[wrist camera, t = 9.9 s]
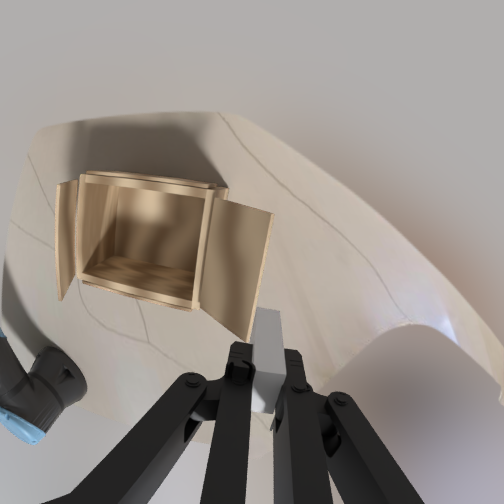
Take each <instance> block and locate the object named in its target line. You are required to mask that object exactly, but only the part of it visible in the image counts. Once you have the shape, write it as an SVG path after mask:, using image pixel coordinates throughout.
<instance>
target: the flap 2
mask: <svg viewBox="0 0 504 504" xmlns="http://www.w3.org/2000/svg"><path fill="white" fill-rule="evenodd" d="M273 219H274V214H273V213H270V212H266V211H263V210H259V209H256V208H252V207H249V206H245V205H242V204H238V203H235V202H231V201H227V200H224V199H220V198H215V199H214V205H213V212H212V218H211V225H210V232H209V238H208V245H207V252H206V260H205V267H204V275H203V283H202V291H201V299H200V308H201V309H202V310H204V311H205V312H206V313H208V314H209V315H210V316H211V317H213V318H214V319H215V320H216V321H218V322H219V323H220V324H222V325H223V326H224V327H226V328H227V329H228V330H229V331H231V332H232V333H233V334H235V335H236V336H237V337H239V338H240V339H241V340H243V341H244V342H249V337H250V333H251V328H252V323H253V318H254V314H255V309H256V304H257V299H258V294H259V289H260V284H261V280H262V275H263V270H264V265H265V260H266V255H267V250H268V245H269V240H270V235H271V229H272V224H273Z"/></svg>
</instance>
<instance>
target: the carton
mask: <svg viewBox="0 0 504 504" xmlns="http://www.w3.org/2000/svg"><path fill="white" fill-rule="evenodd" d="M217 185H218V184H215V183H208V182H202V181H195V180H188V179H181V178H173V177H165V176H157V175H149V174H140V173H130V172H120V171H86V174H80V181H79V192H78V205H77V226H76V267H77V278H78V279H81V280H82V283H83V284H87V285H90V286H93V287H96V288H100V289H103V290H107V291H110V292H114V293H117V294H121V295H124V296H128V297H132V298H135V299H139V300H143V301H147V302H151V303H155V304H159V305H163V306H167V307H171V308H175V309H180V310H184V311H188V312H191V311H192V310H193V309H196V310H200V299H201V291H202V283H203V275H204V267H205V260H206V252H207V245H208V238H209V232H210V225H211V218H212V212H213V205H214V199H215V198H220V199H224V200H227V197H228V192H229V188H224V187H218V186H217Z"/></svg>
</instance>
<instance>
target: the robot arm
mask: <svg viewBox="0 0 504 504" xmlns="http://www.w3.org/2000/svg"><path fill="white" fill-rule="evenodd" d="M86 392H87V384H86V381H85V378H84V376H83V374H82V373H81V371H80V370H79V368H78V367H77V366H76V365H75V363H74V362H73V361H72V360H71V359H70V358H69V357H68V356H66V355H65V354H64V353H63V352H61V351H59V350H58V349H55V348H53V347H45V348H44V349H42V350H41V351H40V352H39V353H38V355H37V357H36V359H35V361H34V363H33V365H32V368H31V370H30V372H29V373H28V374H27V373H26V371H25V370H24V368H23V367H22V365H21V363H20V362H19V360H18V358H17V357H16V355H15V353H14V352H13V350H12V348H11V346H10V345H9V343H8V341H7V337H6V336H5V335H4V333H3V332H2V330H1V328H0V422H1V423H2V424H3V425H4V426H5V427H6V428H7V429H8V430H9V431H10V432H11V433H13V434H14V435H15V436H16V437H18V438H19V439H21V440H22V441H24V442H26V443H28V444H32V445H35V444H37V443H38V442H39V441H40V440H41V439H42V438H43V437H44V436H45V435H46V433H47V432H48V430H49V429H50V428H51V426H52V425H53V423H54V422H55V421H56V419H57V418H58V417H59V415H60V414H61V413H62V411H63V410H64V409H65V408H66V407H68V406H70V405H72V404H73V403H75V402H77V401H79V400H81V399H82V398H83V396H84V395H85V394H86ZM274 410H275V417H274V419H273V422H272V425H271V427H270V431H272V429H273V452H274V455H273V457H274V504H333V499H332V493H331V487H330V481H329V474H328V471H329V473H330V475H331V477H332V479H333V482H334V483H335V486H336V488H337V490H338V492H339V494H340V496H341V498H342V500H343V502H344V504H424V502H423V501H422V499H421V498H420V496H419V495H418V493H417V492H416V490H415V489H414V487H413V486H412V485H411V483H410V482H409V480H408V479H407V477H406V476H405V474H404V473H403V471H402V470H401V468H400V467H399V466H398V464H397V463H396V461H395V460H394V458H393V457H392V455H391V454H390V453H389V451H388V449H387V448H386V447H385V445H384V444H383V442H382V441H381V439H380V438H379V436H378V435H377V433H376V432H375V431H374V429H373V428H372V426H371V425H370V423H369V422H368V420H367V419H366V418H365V416H364V415H363V413H362V412H361V410H360V409H359V407H358V406H357V404H356V403H355V401H354V400H353V399H352V397H350V395H348V394H346V393H343V392H332V393H331V394H330V395H329V396H328V397H327V396H323V395H320V394H317V393H315V392H313V389H312V387H311V385H309V384H308V383H307V381H306V376H305V371H304V365H303V360H302V356H301V354H300V353H299V352H298V351H297V350H292V349H284V345H283V336H282V327H281V318H280V311H277V310H271V309H265V308H260V307H257V309H256V314H255V318H254V323H253V328H252V333H251V337H250V342H249V344H248V343H243V342H237V341H235V342H234V343H233V344H232V345H231V347H230V352H229V357H228V362H227V364H226V370H225V375H224V376H223V377H222V378H220V379H217V380H212V381H207V380H206V379H205V377H204V376H202V375H200V374H198V373H194V372H188V373H184V374H182V375H180V376H179V377H178V378H177V380H176V381H175V382H174V383H173V384H172V385H171V386H170V387H169V389H168V390H167V391H166V392H165V393H164V394H163V395H162V396H161V397H160V399H159V400H158V401H157V402H156V403H155V404H154V405H153V406H152V407H151V408H150V410H149V411H148V412H147V413H146V414H145V415H144V416H143V417H142V418H141V419H140V421H139V422H138V423H137V424H136V425H135V426H134V427H133V428H132V429H131V430H130V431H129V432H128V434H127V435H126V436H125V437H124V438H123V439H122V440H121V441H120V442H119V443H118V444H117V445H116V446H115V447H114V449H113V450H112V451H111V452H110V453H109V454H108V455H107V456H106V457H105V458H104V459H103V460H102V461H101V462H100V463H99V464H98V465H97V466H96V467H95V468H94V469H93V471H91V472H90V473H89V474H88V476H87V477H86V478H85V479H84V480H83V481H82V482H81V483H80V484H79V485H78V486H77V487H76V488H75V489H74V490H73V491H72V492H71V493H69V494H67V495H64V496H62V497H59V498H56V499H53V500H51V501H48V502H45V503H41V504H147V503H148V502H149V500H150V499H151V497H152V496H153V495H154V493H155V492H156V491H157V489H158V488H159V486H160V485H161V484H162V482H163V481H164V479H165V478H166V476H167V475H168V474H169V472H170V471H171V469H172V468H173V466H174V465H175V463H176V462H177V460H178V459H179V457H180V456H181V454H182V453H183V451H184V450H185V448H186V447H187V445H188V444H189V442H190V441H191V439H192V438H193V436H194V435H195V433H196V432H197V430H198V429H199V427H200V426H201V424H202V422H203V421H211V420H216V422H215V427H214V432H213V437H212V443H211V448H210V453H209V458H208V463H207V469H206V474H205V479H204V484H203V489H202V495H201V500H200V504H245V497H246V483H247V468H248V452H249V437H250V421H251V411H253V412H261V413H269V414H273V412H274Z"/></svg>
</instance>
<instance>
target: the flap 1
mask: <svg viewBox="0 0 504 504" xmlns="http://www.w3.org/2000/svg"><path fill="white" fill-rule="evenodd" d="M77 186H78V180H76V179H75V180H71V181H68V182H64V183H60V184H57V191H56V208H55V260H56V277H57V289H58V299H59V301H62V300H63V298H64V296H65V294H66V292H67V290H68V288H69V286H70V284H71V282H72V280H73V278H74V276H75V214H76V198H77Z"/></svg>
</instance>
